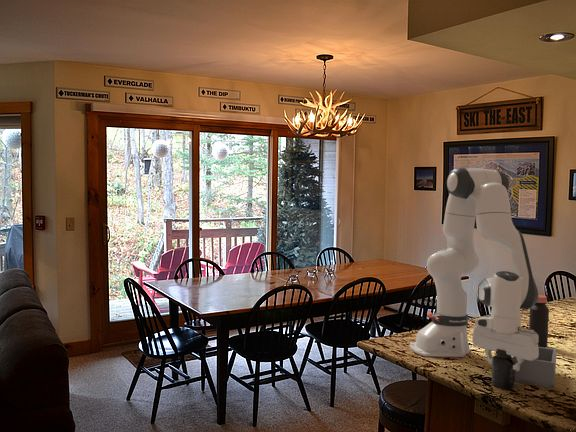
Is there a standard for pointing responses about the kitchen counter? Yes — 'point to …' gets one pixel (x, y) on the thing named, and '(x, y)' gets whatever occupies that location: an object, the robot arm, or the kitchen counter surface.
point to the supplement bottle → (503, 370)
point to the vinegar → (540, 320)
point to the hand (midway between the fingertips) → (503, 366)
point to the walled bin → (538, 369)
